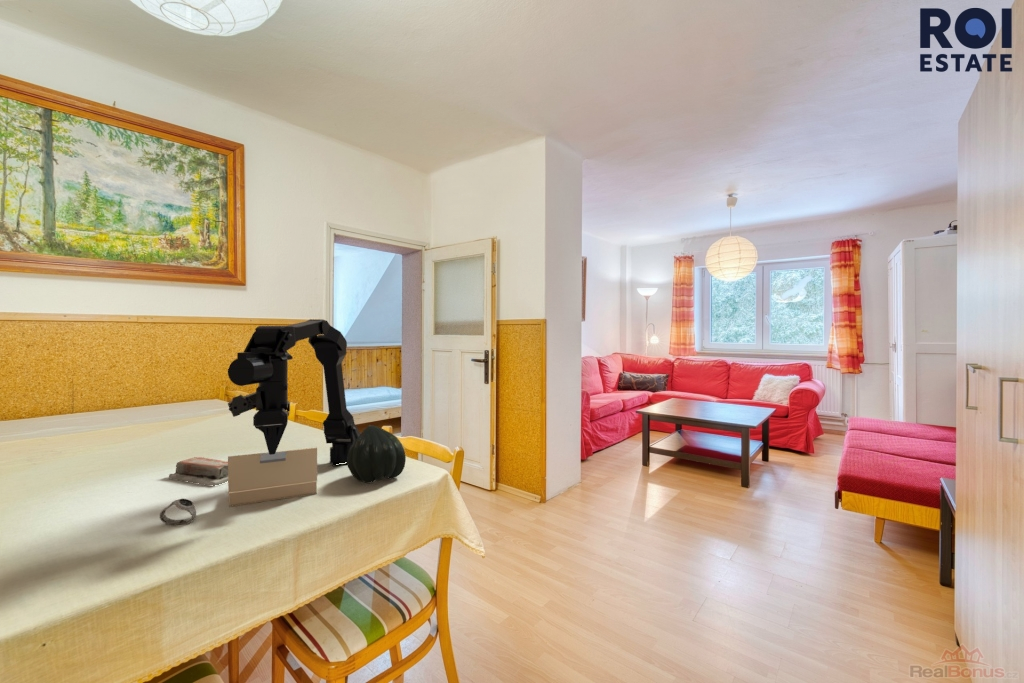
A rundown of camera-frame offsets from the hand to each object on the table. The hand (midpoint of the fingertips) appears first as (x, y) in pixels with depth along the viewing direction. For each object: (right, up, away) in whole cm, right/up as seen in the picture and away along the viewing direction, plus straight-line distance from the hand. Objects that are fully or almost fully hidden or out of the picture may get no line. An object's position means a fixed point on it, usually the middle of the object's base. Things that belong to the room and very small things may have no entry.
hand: (273, 449), depth 96 cm
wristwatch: (-15, -13, -9) cm, 22 cm away
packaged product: (-29, -13, +19) cm, 37 cm away
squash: (+17, -13, +19) cm, 29 cm away
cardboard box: (-4, -13, +7) cm, 15 cm away
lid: (-2, -5, +4) cm, 7 cm away
